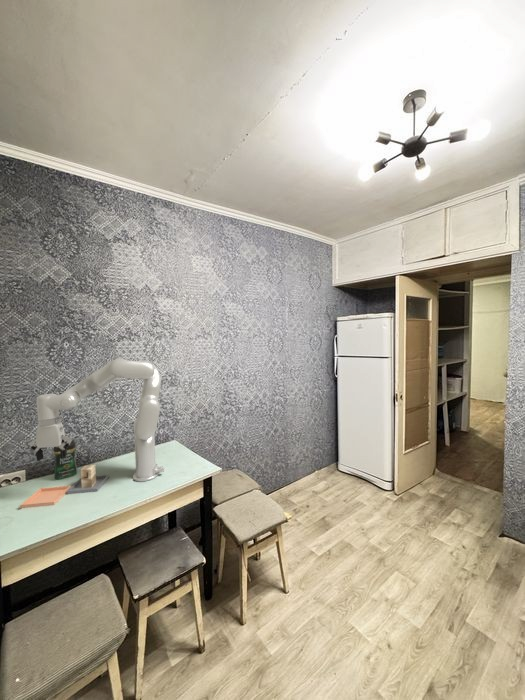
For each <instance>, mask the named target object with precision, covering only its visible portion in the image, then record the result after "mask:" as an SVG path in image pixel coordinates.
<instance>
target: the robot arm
mask: <svg viewBox="0 0 525 700" xmlns="http://www.w3.org/2000/svg"><path fill="white" fill-rule="evenodd" d="M119 378H123V379H124V378H125V379H137V380H143V383H142V391H141V394H140V400H139V402H138V409H139V410H138V413H137V418H135V420H134V422H133V435H134V436H133V437H134V455H135V456H134V457H135V458H134V459H135V460H134V461H135V472H134V473H133V475H132V479H133V480H134V481H135V482H147V481H151V480H153V479H155V478H157V477H158V476H159V475H160V473H164V472H165V467H163V466H158V463H156V462H157V461H156V441H155V439H156V438H155V434H156V430H157V427H158V421H159V416H160V412H161V404H160V402H159V398H160V393H161V386H162V378H161V373H160V372H159V369H158V368H157V367H156V366H155V365H154V364H153V363H152V362H150V361H148V360H142V361H139V360H138V361H136V360H129V359H125V358H122V357H118V358H115V359H113V360H111V361H109V362H108V363H107V364H105V365H104V366H102V367H100V368H98V369H97V370H96V371H94V372H91V374H89V375H88V376H86V378H84V379H83V380H80V381H79V382H78V383H76V384H74V385H73V386H72V387H70V388H69V389H67V390H65V391H63V393H61V394H56V393H46V394H40V395H38V396H37V397H36V408H37V409H36V410H37V421H38V425H37V427H36V431H35V432H36V433H35V439H34V440H33V439H32V440H31V441H29V443H28V445H29V447H30V448H31V449H32V450H33V451H34V452H33V453H35V456H36V457H35V458H36V460H37V461H36V462H39V461H41V460H42V459H44V450H43V449H44V448H54V447H57V446H58V447H59V448H60V449H62V450H61V451H60V455H61V459H63V458H65V457H66V455H67V449H66V448H67V447H68V446H69V445H70V443H71V441H72V440H73V438H71V437H69V436H66V434H65V433H66V432H65V428H64V424H63V423H62V421H63V418H62V417H60V411H64V410H66V411H67V410H71V409H73V408H75V406H77V404H78V403H79V402H80V401H81V400H83V399H84V398H86V397H87V396H89V395H91V394H92V393H94V392H97V391H100V390H102V389H104V388H106V387H107V386H108V385H110V384H111V383H114V381H116V380H117V379H119ZM65 441H67V443H66V444H65Z"/></svg>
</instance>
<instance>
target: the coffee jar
mask: <svg viewBox="0 0 525 700" xmlns="http://www.w3.org/2000/svg"><path fill="white" fill-rule="evenodd" d="M66 443H67V441H65V444H66ZM66 449H67V455H66V457H65V458H63V459H61V455H60V451H61V450H62V449H60V448H59V447H58V446H57V447H53V454H54V456H55V465H54V479H55V480H57V481H59V480H64V479H68V478H73V477H75V476H76V475H77V474H78V467H77V462H76V452H75V451H76V449H77V446H76V442H75V440H74V439H72V441H71V443H70V445H69V446H68V447H67V448H66Z"/></svg>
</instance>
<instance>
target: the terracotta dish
mask: <svg viewBox="0 0 525 700" xmlns="http://www.w3.org/2000/svg"><path fill="white" fill-rule="evenodd" d="M71 487H72V485H64V486H63V485H61V486H52V487H51V486H49V487H41V488H39V489H37V491H35V492H34V493H33V494H31V495H30V496H29V497H28V498H27V499H26V500H24V501H23V502H22V503H21V504H20V505H19V509H20V510H22V509H28V508H38V507H48V506H55V505H56V504H57V503H58V502H59V501H60V500H61V499H62V498H63V497H64V496H66V495H67V490H68V489H70V488H71Z"/></svg>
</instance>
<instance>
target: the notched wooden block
mask: <svg viewBox="0 0 525 700" xmlns="http://www.w3.org/2000/svg"><path fill="white" fill-rule="evenodd" d="M96 470H97V469H96V464H89V465H84V466H83V467H82V468H80V478H81V483H82V488H90V487H93V486H94V484H95V483H96V476H97V472H96Z"/></svg>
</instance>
